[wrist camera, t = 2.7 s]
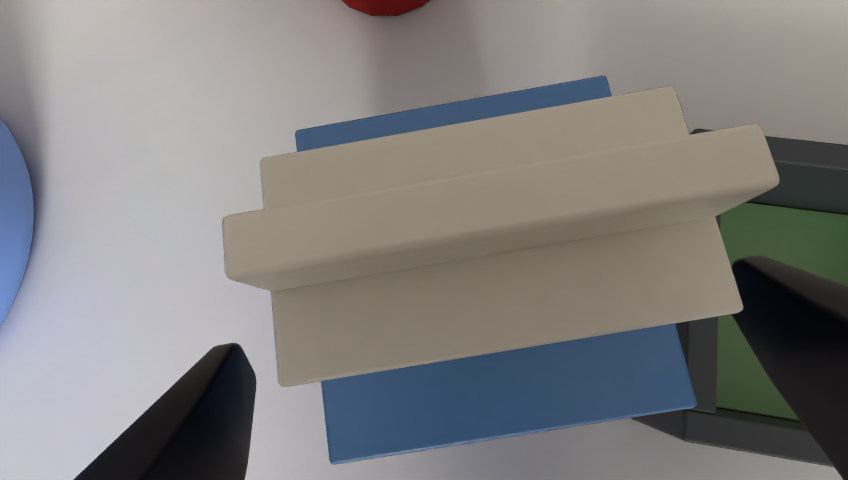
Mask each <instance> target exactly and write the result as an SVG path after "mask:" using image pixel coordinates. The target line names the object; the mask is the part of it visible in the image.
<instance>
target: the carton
mask: <svg viewBox="0 0 848 480" xmlns="http://www.w3.org/2000/svg"><path fill="white" fill-rule="evenodd" d="M295 137H296V147H297V152H295V153H289V154H284V155H278V156H272V157H267V158H263V159H261V160H260V170H261V182H262V194H263V206H264V209H261V210H256V211H250V212H244V213H239V214H233V215H228V216H226V217H224V218H223V221H222V229H223V245H224V261H225V273H226V275H227V277H228V279H231V280H234V281H238V282H241V283H244V284H248V285H251V286H255V287H258V288H262V289H265V290H269V291H271V300H272V311H273V323H274V335H275V347H276V359H277V370H278V382H279V384H280V386H283V387H288V386H294V385H300V384H306V383H312V382H319V381H321V385H322V394H323V404H324V413H325V423H326V432H327V442H328V451H329V460H330V462H331V464H334V465H335V464H341V463H348V462H354V461H360V460H367V459H373V458H379V457H386V456H392V455H398V454H405V453H411V452H417V451H424V450H430V449H436V448H443V447H449V446H455V445H461V444H468V443H474V442H480V441H487V440H493V439H499V438H506V437H512V436H518V435H525V434H531V433H537V432H544V431H550V430H556V429H563V428H569V427H575V426H582V425H588V424H594V423H600V422H607V421H613V420H619V419H626V418H632V417H638V416H645V415H651V414H657V413H664V412H670V411H676V410H683V409H689V408H694V407H696V406H697V400H696V396H695V393H694V389H693V386H692V382H691V378H690V375H689V371H688V368H687V364H686V361H685V357H684V353H683V350H682V346H681V343H680V339H679V335H678V332H677V328H676V325H675V323H680V322H686V321H692V320H698V319H704V318H710V317H716V316H723V315H729V314H735V313H739V312H740V311H742V310H743V304H742V301H741V297H740V294H739V291H738V288H737V285H736V282H735V278H734V275H733V272H732V269H731V266H730V262H729V259H728V256H727V253H726V250H725V247H724V243H723V240H722V237H721V234H720V231H719V227H718V224H717V221H716V218H715V216H717V215H719V214H721V213H723V212H726V211H728V210H730V209H732V208H734V207H736V206H738V205H740V204H742V203H744V202H746V201H748V200H750V199H752V198H754V197H756V196H758V195H760V194H762V193H764V192H766V191H768V190H770V189H772V188H774V187H775V186H777V185H778V184H779V175H778V172H777V169H776V166H775V164H774V161H773V158H772V155H771V152H770V150H769V147H768V144H767V141H766V138H765V135H764V133H763V130H762V128H761V127H760V126H759V125H758V124H749V125H744V126H738V127H732V128H726V129H721V130H715V131H709V132H703V133H698V134H692V135H689V132H688V129H687V126H686V123H685V119H684V116H683V113H682V110H681V107H680V103H679V100H678V97H677V94H676V91H675V88H674V87H673V86H667V87H662V88H656V89H650V90H645V91H639V92H633V93H628V94H622V95H616V96H612V95H611V92H610V88H609V85H608V81H607V78H606V76H598V77H593V78H587V79H582V80H576V81H570V82H565V83H559V84H554V85H548V86H542V87H537V88H531V89H526V90H520V91H514V92H509V93H503V94H498V95H492V96H486V97H481V98H475V99H470V100H464V101H458V102H453V103H447V104H442V105H436V106H430V107H425V108H419V109H414V110H408V111H402V112H397V113H391V114H386V115H380V116H374V117H369V118H363V119H358V120H352V121H346V122H341V123H335V124H330V125H324V126H318V127H313V128H307V129H302V130H297V131H296V133H295Z"/></svg>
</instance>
